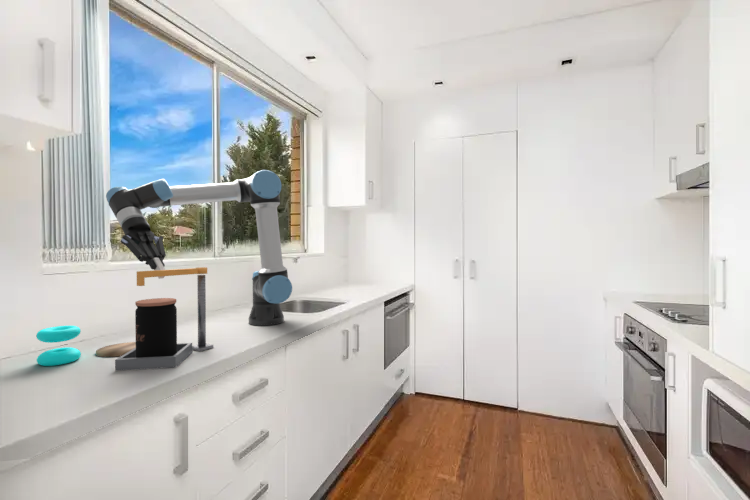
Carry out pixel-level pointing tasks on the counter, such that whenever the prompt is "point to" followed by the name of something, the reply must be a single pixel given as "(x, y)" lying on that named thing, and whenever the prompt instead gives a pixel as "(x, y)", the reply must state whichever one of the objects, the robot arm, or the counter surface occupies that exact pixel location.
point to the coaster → (115, 349)
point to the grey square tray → (153, 359)
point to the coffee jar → (156, 327)
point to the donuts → (58, 354)
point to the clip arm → (168, 273)
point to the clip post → (201, 316)
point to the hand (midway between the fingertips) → (162, 275)
